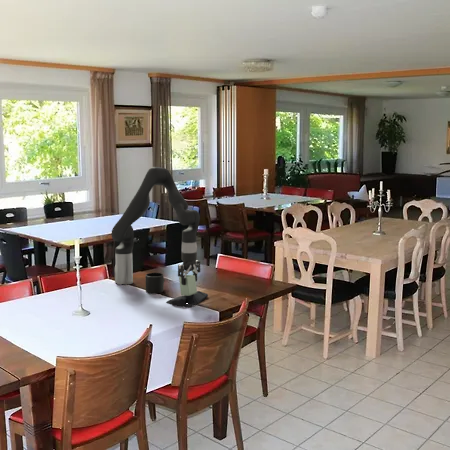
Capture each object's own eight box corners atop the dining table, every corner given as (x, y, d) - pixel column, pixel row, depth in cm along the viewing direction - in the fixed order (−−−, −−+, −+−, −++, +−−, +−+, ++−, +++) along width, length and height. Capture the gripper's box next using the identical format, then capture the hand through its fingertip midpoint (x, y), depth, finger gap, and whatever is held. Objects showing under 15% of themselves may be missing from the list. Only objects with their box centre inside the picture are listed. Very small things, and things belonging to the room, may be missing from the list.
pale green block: (181, 295, 277) (179, 277, 276) (188, 292, 281) (186, 275, 280) (189, 295, 273) (187, 277, 273) (197, 293, 278) (194, 275, 277)
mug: (170, 289, 299) (170, 273, 298) (154, 294, 290) (154, 277, 288) (157, 286, 305) (157, 270, 303) (142, 291, 295) (141, 275, 294)
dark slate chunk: (213, 299, 285) (213, 290, 284) (188, 310, 266) (188, 300, 266) (188, 294, 293) (188, 285, 292) (162, 305, 274) (162, 295, 274)
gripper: (193, 247, 281) (193, 279, 284) (173, 252, 270) (173, 284, 273) (204, 249, 277) (204, 281, 279) (185, 254, 266) (185, 287, 268)
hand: (189, 283), depth 276 cm, fingers open, 8 cm apart
